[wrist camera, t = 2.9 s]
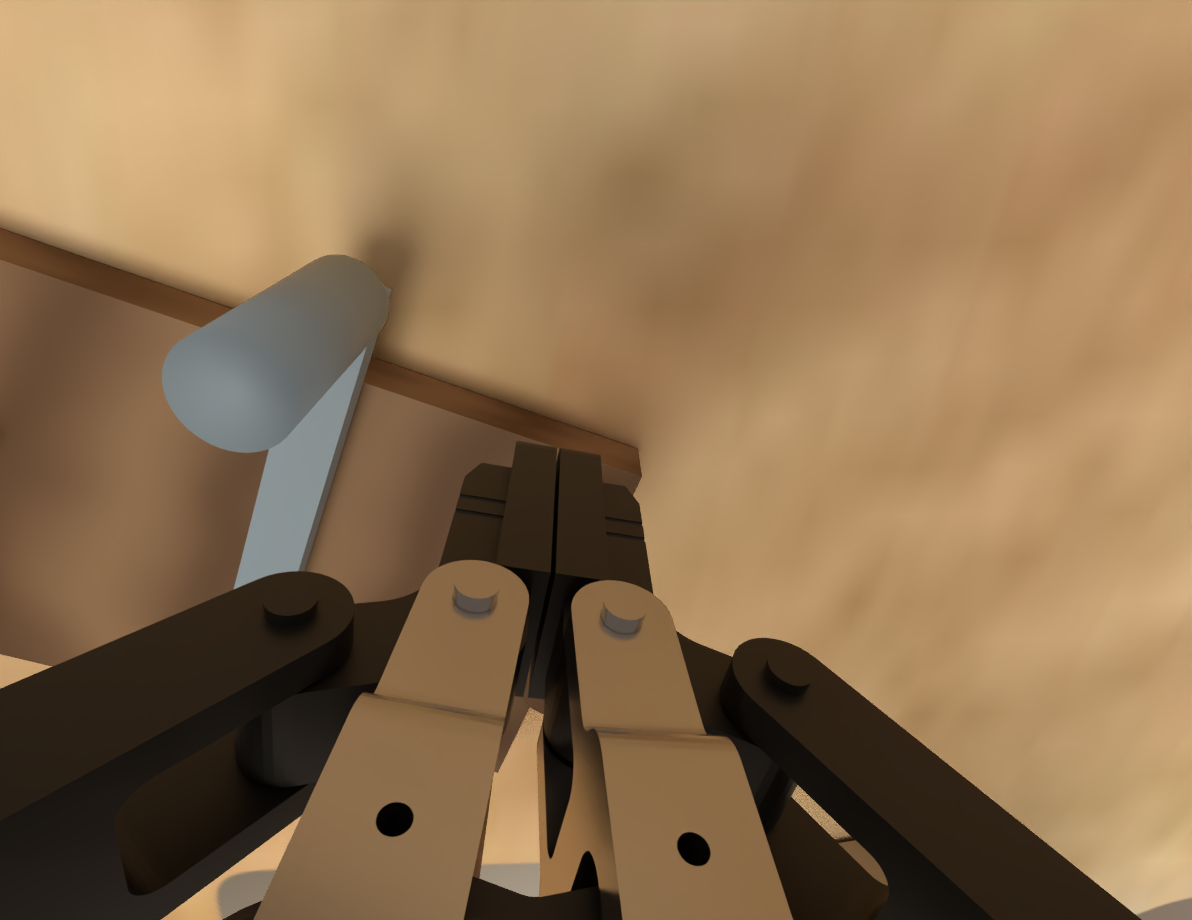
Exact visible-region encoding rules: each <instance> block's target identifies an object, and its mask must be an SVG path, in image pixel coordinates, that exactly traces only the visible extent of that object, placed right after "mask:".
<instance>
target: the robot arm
mask: <svg viewBox="0 0 1192 920" xmlns="http://www.w3.org/2000/svg"><path fill="white" fill-rule="evenodd" d="M556 458H557V461H556ZM529 669H530V676H529V688H528V698H537V699H544V718H543V722H542V726H541V730H540V735H539V739H538V743H537V772H538V808H539V845H540V890H539V897H528V896H525V895H521V894H519V893H516V892H513V891H511V890H508V889H505V888H502V887H500V886H497V885H495V884H492V883H489V882H487V881H484V880H482V879H479V878H476V877H474V876H473V872H474V867H475V862H476V857H477V853H478V848H479V843H480V838H481V833H482V828H483V823H484V819H485V814H486V809H487V804H488V799H489V794H490V789H491V785H492V780H493V775H494V770H495V765H496V760H497V755H498V751H499V746H500V741H501V736H502V735H503V734H504V732H505V731H506V729H507V727H508V724H509V720H510V715H511V711H512V706H513V701H514V696H518V697H523V696H524V691H525V687H526V682H527V678H528V673H529ZM797 785H799V786H800V787H801V788H802V789H803V790H804V791H805V792H806V793H807V794H808V795H809V796H810V797H811V798H812V799H813V800H814V801H815V802H816V803H817V804H818V805H819V806H820V807H821V808H823V809H824V810H825V811H826V812H827V813H828V814H829V815H830V816H831V817H832V818H833V819H834V820H835V821H836V822H837V823H838V824H839V825H840V826H841V827H842V828H843V829H844V830H845V831H846V832H847V833H848V834H850V835H851V836H852V837H853V838H854V839H855V841H848V842H842V843H838V842H837V841H835V840H834V839H833V838H832V837H831V836H830V835H829V834H828V833H827V832H826V831H825V830H824V829H823V828H822V827H821V826H820V825H819V824H818V823H817V822H816V821H815V820H814V819H813V818H812V817H811V816H810V815H809V814H808V813H807V812H806V811H805V810H804V809H803V808H802V807H801V806H800V805H799V804H798V803H797V802H796V801H795V800H794V799H793V798H792V797H791V796H792V794H793V792H794V790H795V788H796V786H797ZM301 815H302V816H301ZM300 816H301V818H300V821H299V823H298V825H297V827H296V829H295V831H294V833H293V836H292V838H291V840H290V842H289V844H288V846H287V849H286V851H285V853H284V855H283V857H282V859H281V861H280V864H279V866H278V868H277V870H276V872H275V874H274V877H273V879H272V881H271V883H270V885H269V887H268V890H267V892H266V894H265V896H264V898H263V900H262V901H260V902H258V903H255V904H253V905H251V906H248V907H246V908H243V909H241V910H239V911H237V912H236V913H234V914H232V915H230V916H228V917H227V918H225V919H223V920H1141V919H1140V918H1139V917H1138V916H1136V915H1135V914H1134V913H1133V912H1131V911H1130V910H1129V909H1128V908H1126V907H1125V906H1124V905H1123V904H1121V903H1120V902H1119V901H1118V900H1116V899H1115V898H1114V897H1113V896H1111V895H1110V894H1109V893H1108V892H1106V891H1105V890H1104V889H1103V888H1101V887H1100V886H1099V885H1098V884H1096V883H1095V882H1094V881H1093V880H1091V879H1090V878H1089V877H1088V876H1086V875H1085V874H1084V873H1083V872H1081V871H1080V870H1079V869H1078V868H1076V867H1075V866H1074V865H1073V864H1071V863H1070V862H1069V861H1068V860H1066V859H1065V858H1064V857H1063V856H1062V855H1060V854H1059V853H1058V852H1057V851H1055V850H1054V849H1053V848H1052V847H1050V846H1049V845H1048V844H1047V843H1045V842H1044V841H1043V840H1042V839H1040V838H1039V837H1038V836H1037V835H1035V834H1034V833H1033V832H1032V831H1030V830H1029V829H1028V828H1027V827H1025V826H1024V825H1023V824H1022V823H1020V822H1019V821H1018V820H1017V819H1015V818H1014V817H1013V816H1012V815H1010V814H1009V813H1008V812H1007V811H1005V810H1004V809H1003V808H1002V807H1000V806H999V805H998V804H997V803H995V802H994V801H993V800H992V799H990V798H989V797H988V796H987V795H985V794H984V793H983V792H982V791H980V790H979V789H978V788H977V787H975V786H974V785H973V784H972V783H971V782H969V781H968V780H967V779H966V778H964V777H963V776H962V775H961V774H959V773H958V772H957V771H956V770H954V769H953V768H952V767H951V766H949V765H948V764H947V763H946V762H944V761H943V760H942V759H941V758H939V757H938V756H937V755H936V754H934V753H933V752H932V751H931V750H929V749H928V748H927V747H926V746H924V745H923V744H922V743H921V742H919V741H918V740H917V739H916V738H914V737H913V736H912V735H911V734H909V733H908V732H907V731H906V730H904V729H903V728H902V727H901V726H899V725H898V724H897V723H896V722H894V721H893V720H892V719H891V718H889V717H888V716H887V715H886V714H884V713H883V712H882V711H881V710H880V709H878V708H877V707H876V706H875V705H873V704H872V703H871V702H870V701H868V700H867V699H866V698H865V697H863V696H862V695H861V694H860V693H858V692H857V691H856V690H855V689H853V688H852V687H851V686H850V685H848V684H847V683H846V682H845V681H843V680H842V679H841V678H840V677H838V676H837V675H836V674H835V673H833V672H832V671H831V670H830V669H828V668H827V667H826V666H825V665H823V664H822V663H821V662H820V661H818V660H817V659H816V658H815V657H813V656H812V655H810V654H809V653H808V652H806V651H804V650H802V649H801V648H799V647H797V646H795V645H792V644H790V643H787V642H784V641H781V640H776V639H770V638H756V639H751V640H748V641H746V642H744V643H742V644H741V645H739V646H738V648H737V649H736V650H735V652H734V655H733V657H731V656H729V655H726V654H723V653H721V652H718V651H716V650H713V649H711V648H708V647H705V646H703V645H700V644H698V643H696V642H694V641H692V640H690V639H688V638H686V637H685V636H683V635H682V634H680V633H679V632H677V631H676V629H675V626H674V622H673V619H672V616H671V614H670V612H669V610H668V609H667V607H666V606H665V605H664V604H663V602H662V601H661V600H659V599H658V598H657V597H656V596H655V595H653V589H652V583H651V577H650V570H649V564H648V557H647V551H646V544H645V542H644V531H643V526H642V519H641V512H640V506H639V503H638V502H637V501H636V499H635V498H634V497H633V495H632V494H631V493H630V492H629V490H628V489H627V488H626V487H625V486H621V485H615V484H609V483H603V480H602V466H601V455H600V454H595V453H589V452H583V451H577V450H571V449H565V448H560V449H559V452H558V456H557V447H553V446H547V445H541V444H535V443H529V442H523V441H518V440H516V446H515V452H514V458H513V464H512V468H511V467H505V466H499V465H493V464H487V463H480V464H479V465H478V466H477V467H475V468H474V469H473V470H472V471H470V472H469V473H468V474H467V475H465V478H464V481H463V484H462V488H461V491H460V496H459V498H458V502H457V505H456V509H455V512H454V516H453V519H452V523H451V526H450V530H449V533H448V536H447V540H446V543H445V547H444V550H443V554H442V557H441V561H440V564H439V567H438V568H436V569H435V570H434V571H432V572H431V573H430V574H429V575H428V576H427V577H426V578H425V580H424V582H423V583H422V586H421V588H420V589H419V590H418V591H416V592H414V593H412V594H409V595H406V596H404V597H401V598H396V599H392V600H386V601H377V602H366V603H356V604H354V600H353V597H352V595H351V593H350V591H349V590H348V589H347V588H346V587H345V586H344V585H343V584H342V583H340V582H339V581H337V580H335V579H333V578H331V577H329V576H326V575H323V574H319V573H314V572H305V571H291V572H282V573H276V574H272V575H268V576H265V577H262V578H260V579H257V580H255V581H252V582H250V583H248V584H245V585H243V586H241V587H238V588H236V589H234V590H231V591H229V592H227V593H224V594H222V595H219V596H217V597H215V598H212V599H210V600H208V601H205V602H203V603H201V604H198V605H196V606H194V607H191V608H189V609H187V610H184V611H182V612H180V613H177V614H175V615H173V616H170V617H168V618H165V619H163V620H161V621H158V622H156V623H154V624H151V625H149V626H147V627H144V628H142V629H140V630H137V631H135V632H133V633H130V634H128V635H126V636H123V637H121V638H119V639H116V640H114V641H111V642H109V643H107V644H104V645H102V646H100V647H97V648H95V649H93V650H90V651H88V652H86V653H83V654H81V655H79V656H76V657H74V658H72V659H69V660H67V661H65V662H62V663H60V664H57V665H55V666H53V667H50V668H48V669H46V670H43V671H41V672H39V673H36V674H34V675H32V676H29V677H27V678H25V679H22V680H20V681H18V682H15V683H13V684H11V685H8V686H6V687H3V688H1V689H0V920H161V919H162V918H164V917H165V916H166V915H168V914H169V913H170V912H172V911H173V910H174V909H176V908H177V907H178V906H180V905H181V904H183V903H184V902H185V901H187V900H188V899H189V898H191V897H192V896H193V895H195V894H196V893H197V892H199V891H200V890H201V889H203V888H204V887H205V886H207V885H208V884H209V883H211V882H212V881H213V880H215V879H216V878H218V877H219V876H220V875H222V874H223V873H224V872H226V871H227V870H228V869H230V868H231V867H232V866H234V865H235V864H236V863H238V862H239V861H240V860H242V859H243V858H244V857H246V856H247V855H248V854H250V853H251V852H253V851H254V850H255V849H257V848H258V847H259V846H261V845H262V844H263V843H265V842H266V841H267V840H269V839H270V838H271V837H273V836H274V835H275V834H277V833H278V832H279V831H281V830H282V829H284V828H285V827H286V826H288V825H289V824H290V823H292V822H293V821H294V820H296V819H297V818H298V817H300Z"/></svg>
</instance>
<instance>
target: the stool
mask: <svg viewBox="0 0 1192 920" xmlns="http://www.w3.org/2000/svg"><path fill="white" fill-rule="evenodd" d="M230 310H232V309H231V308H229V307H226V306H223V305H220V304H217V303H214V302H211V301H208V300H205V299H203V298H200V297H197V296H194V295H191V294H188V293H185V292H182V291H179V290H177V289H174V288H171V287H168V286H165V285H162V284H159V283H156V282H153V281H151V280H148V279H145V278H142V277H139V276H136V275H133V274H130V273H127V272H125V271H122V270H119V269H116V268H113V267H110V266H107V265H104V264H101V263H99V262H96V261H93V260H90V259H87V258H84V257H81V256H78V255H75V254H72V253H70V252H67V251H64V250H61V249H58V248H55V247H52V246H49V245H46V244H44V243H41V242H38V241H35V240H32V239H29V238H26V237H23V236H20V235H18V234H15V233H12V232H9V231H6V230H3V229H0V654H2V655H7V656H11V657H15V658H19V659H23V660H27V661H32V662H36V663H40V664H44V665H48V666H55V665H57V664H60V663H62V662H65V661H67V660H69V659H72V658H74V657H76V656H79V655H81V654H83V653H86V652H88V651H90V650H93V649H95V648H97V647H100V646H102V645H104V644H107V643H109V642H111V641H114V640H116V639H119V638H121V637H123V636H126V635H128V634H130V633H133V632H135V631H137V630H140V629H142V628H144V627H147V626H149V625H151V624H154V623H156V622H158V621H161V620H163V619H165V618H168V617H170V616H173V615H175V614H177V613H180V612H182V611H184V610H187V609H189V608H191V607H194V606H196V605H198V604H201V603H203V602H205V601H208V600H210V599H212V598H215V597H217V596H219V595H222V594H224V593H227V592H229V591H231V590H234V586H235V582H236V578H237V574H238V570H239V566H240V562H241V558H242V554H243V550H244V546H245V542H246V538H247V535H248V531H249V527H250V523H251V519H252V515H253V511H254V507H255V503H256V499H257V495H258V491H259V487H260V483H261V479H262V475H263V471H264V467H265V463H266V459H267V456H268V452H269V449H267V450H264V451H260V452H253V453H241V452H233V451H228V450H225V449H221V448H218V447H216V446H213V445H211V444H209V443H207V442H205V441H203V440H202V439H200V438H199V437H197V436H196V435H194V434H193V433H192V432H191V431H189V430H188V429H187V428H186V427H185V426H184V425H183V424H182V423H181V422H180V420H179V419H178V418H177V417H176V416H175V414H174V413H173V411H172V409H171V408H170V406H169V404H168V402H167V400H166V397H165V394H164V390H163V386H162V368H163V364H164V361H165V359H166V356H167V354H168V353H169V351H170V350H171V349H172V347H173V346H174V345H175V344H176V343H178V342H179V341H180V340H182V339H183V338H185V337H186V336H188V335H190V334H192V333H193V332H195V331H197V330H198V329H200V328H202V327H203V326H205V325H207V324H208V323H210V322H212V321H213V320H215V319H217V318H218V317H220V316H222V315H223V314H225V313H227V312H229V311H230ZM516 440H518V441H523V442H529V443H535V444H541V445H547V446H553V447H557V456H558V452H559V449H560V448H565V449H571V450H577V451H583V452H589V453H595V454H600V455H601V466H602V480H603V483H609V484H615V485H621V486H625V487H626V488H627V489H628V490H629V492H630V493H631V494H632V495H633V494H634V492H635V490H636V488H637V486H638V483H639V481H640V479H641V477H642V474H641V467H640V461H639V454H638V449H636V448H633V447H630V446H627V445H625V444H622V443H619V442H616V441H613V440H610V439H607V438H604V437H601V436H599V435H596V434H593V433H590V432H587V431H584V430H581V429H578V428H575V427H573V426H570V425H567V424H564V423H561V422H558V421H555V420H552V419H549V418H547V417H544V416H541V415H538V414H535V413H532V412H529V411H526V410H523V409H520V408H518V407H515V406H512V405H509V404H506V403H503V402H500V401H497V400H494V399H492V398H489V397H486V396H483V395H480V394H477V393H474V392H471V391H468V390H466V389H463V388H460V387H457V386H454V385H451V384H448V383H445V382H442V381H440V380H437V379H434V378H431V377H428V376H425V375H422V374H419V373H416V372H414V371H411V370H408V369H405V368H402V367H399V366H396V365H393V364H390V363H388V362H385V361H382V360H379V359H376V358H373V357H371V359H370V362H369V365H368V369H367V372H366V375H365V378H364V381H363V385H362V388H361V391H360V394H359V398H358V401H357V404H356V407H355V410H354V414H353V417H352V420H351V423H350V427H349V430H348V433H347V436H346V439H345V443H344V446H343V449H342V452H341V456H340V459H339V462H338V465H337V468H336V472H335V475H334V478H333V481H332V484H331V488H330V491H329V494H328V497H327V501H326V504H325V507H324V510H323V513H322V517H321V520H320V523H319V526H318V530H317V533H316V536H315V539H314V542H313V546H312V549H311V552H310V555H309V559H308V562H307V565H306V568H305V572H314V573H319V574H323V575H326V576H329V577H331V578H333V579H335V580H337V581H339V582H340V583H342V584H343V585H344V586H345V587H346V588H347V589H348V590H349V591H350V593H351V595H352V597H353V600H354V604H356V603H366V602H377V601H386V600H392V599H396V598H401V597H404V596H406V595H409V594H412V593H414V592H416V591H418V590H419V589H420V588H421V586H422V583H423V582H424V580H425V578H426V577H427V576H428V575H429V574H430V573H431V572H432V571H434V570H435V569H436V568H438V567H439V564H440V561H441V557H442V554H443V550H444V547H445V543H446V540H447V536H448V533H449V530H450V526H451V523H452V519H453V516H454V512H455V509H456V505H457V502H458V498H459V496H460V491H461V488H462V484H463V481H464V478H465V475H467V474H468V473H469V472H470V471H472V470H473V469H474V468H475V467H477V466H478V465H479V464H480V463H487V464H493V465H499V466H505V467H511V468H512V464H513V458H514V452H515V446H516ZM556 461H557V458H556ZM529 676H530V669H529V673H528V678H527V682H526V687H525V691H524V696H523V697H518V696H514V701H513V706H512V711H511V715H510V720H509V724H508V727H507V729H506V731H505V732H504V734H503V735H502V736H501V741H500V746H499V751H498V755H497V760H496V765H495V770H494V772H497V773H498V771H499V769H500V767H501V765H502V763H503V761H504V759H505V757H506V755H507V753H508V751H509V748H510V746H511V744H512V742H513V740H514V738H515V736H516V734H517V732H518V730H519V728H520V726H521V724H522V722H523V720H524V718H525V716H526V714H527V711H528V709H529V707H531V708H533V709H534V710H536V711H538V712H540V713H542V714H544V699H537V698H528V688H529ZM492 781H493V780H492ZM491 788H492V785H491ZM490 796H491V789H490V794H489V799H488V804H487V809H486V814H485V819H484V823H483V828H482V833H481V838H480V843H479V848H478V853H477V857H476V862H475V867H474V872H473V876H474V877H476V878H479V877H480V869H481V862H482V855H483V847H484V840H485V833H486V825H487V818H488V810H489V803H490Z"/></svg>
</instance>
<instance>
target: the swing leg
mask: <svg viewBox="0 0 1192 920" xmlns="http://www.w3.org/2000/svg"><path fill="white" fill-rule="evenodd" d="M391 291H392V289H390V288H387V287H385V286H384V285H383V283H382V281H381V280H380V278H379V277H378V276H377V274H376V273H375V272H374V271H373V270H372V269H371V268H370V267H368V266H367V265H366V264H364V263H363V262H361V261H359V260H357V259H355V258H352V257H349V256H345V255H327V256H323V257H320V258H318V259H316V260H314V261H313V262H311V263H309V264H308V265H306V266H304V267H302V268H301V269H299V270H297V271H296V272H294V273H292V274H291V275H289V276H287V277H286V278H284V279H282V280H281V281H279V282H277V283H276V284H274V285H272V286H271V287H269V288H267V289H266V290H264V291H262V292H260V293H259V294H257V295H255V296H254V297H252V298H250V299H249V300H247V301H245V302H244V303H242V304H240V305H239V306H237V307H235V308H234V309H232V310H230V311H229V312H227V313H225V314H223V315H222V316H220V317H218V318H217V319H215V320H213V321H212V322H210V323H208V324H207V325H205V326H203V327H202V328H200V329H198V330H197V331H195V332H193V333H192V334H190V335H188V336H186V337H185V338H183V339H182V340H180V341H179V342H178V343H176V344H175V345H174V346H173V347H172V349H171V350H170V351H169V353H168V354H167V356H166V359H165V361H164V364H163V368H162V386H163V390H164V394H165V397H166V400H167V402H168V404H169V406H170V408H171V409H172V411H173V413H174V414H175V416H176V417H177V418H178V419H179V420H180V422H181V423H182V424H183V425H184V426H185V427H186V428H187V429H188V430H189V431H191V432H192V433H193V434H194V435H196V436H197V437H199V438H200V439H202V440H203V441H205V442H207V443H209V444H211V445H213V446H216V447H218V448H221V449H225V450H228V451H233V452H241V453H253V452H260V451H264V450H267V449H269V452H268V456H267V459H266V463H265V467H264V471H263V475H262V479H261V483H260V487H259V491H258V495H257V499H256V503H255V507H254V511H253V515H252V519H251V523H250V527H249V531H248V535H247V538H246V542H245V546H244V550H243V554H242V558H241V562H240V566H239V570H238V574H237V578H236V582H235V586H234V589H236V588H238V587H241V586H243V585H245V584H248V583H250V582H252V581H255V580H257V579H260V578H262V577H265V576H268V575H272V574H276V573H282V572H291V571H305V568H306V565H307V562H308V559H309V555H310V552H311V549H312V546H313V542H314V539H315V536H316V533H317V530H318V526H319V523H320V520H321V517H322V513H323V510H324V507H325V504H326V501H327V497H328V494H329V491H330V488H331V484H332V481H333V478H334V475H335V472H336V468H337V465H338V462H339V459H340V456H341V452H342V449H343V446H344V443H345V439H346V436H347V433H348V430H349V427H350V423H351V420H352V417H353V414H354V410H355V407H356V404H357V401H358V398H359V394H360V391H361V388H362V385H363V381H364V378H365V375H366V372H367V369H368V365H369V362H370V359H371V356H372V353H373V349H374V346H375V343H376V340H377V336H378V333H379V332H380V331H381V330H382V328H383V327H384V325H385V323H386V321H387V318H388V314H389V298H390V295H391Z"/></svg>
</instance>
